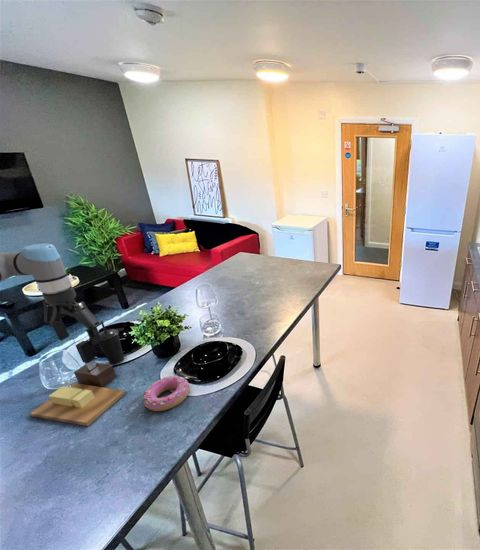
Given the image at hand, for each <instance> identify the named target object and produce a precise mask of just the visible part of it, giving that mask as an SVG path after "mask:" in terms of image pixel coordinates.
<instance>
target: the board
mask: <svg viewBox="0 0 480 550" xmlns="http://www.w3.org/2000/svg"><path fill="white" fill-rule="evenodd" d="M72 383H73V384H72ZM72 383H71V384H72V385H71V387H72V388H78V389H82V390H83V391H84V390H91V391H92V393H93V395H94V397H95V398H94V399H93V400H91V401H90V402H89V403H88V404H86V405H85V406H84V407H83V408H78V407H75V405H74V406H66V405H60V404H54V403H52V401H51V399H50V398H49V399H48V400H46V401H44V402H43V403H41V405H39V406H37V407H36V408H35V409H33V410H32V411H31V412H29V415H30V417H32V418H33V417H34V418H38V419H39V418H40V419H44V420H45V419H46V420H50V421H57V422H62V423H69V424H74V425H81V426H84V427H85V426H87V427H89V425H91V424H93V422H95V420H97V419H98V418H99V417H100V416H101V415H103V414H104V413H105V412H106V411H107V410H108V409H109V408H111V406H113V405H114V404H115V403H116V402H118V401H119V400H120V399H121V398H122V397H123V396H125V395H126V392H125V390H122V389H114V388H110V387H104V386H103V387H97V386H90V385H84V384H79V383H77V382H72Z"/></svg>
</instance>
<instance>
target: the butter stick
mask: <svg viewBox="0 0 480 550" xmlns="http://www.w3.org/2000/svg"><path fill="white" fill-rule="evenodd" d="M82 391H83V390H82V389H78V388H72V387H68V386H64V385H62V386H61V387H59V388H58V389H56V390H55V391H53V392H52V393H50V394H49V395H48V398H49V399H51V401H52V403H54V404H60V405H66V406H74V403H73V401H72V399H73V398H74V397H76V396H77V395H78V394H80V393H81V392H82Z"/></svg>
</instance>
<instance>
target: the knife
mask: <svg viewBox="0 0 480 550" xmlns="http://www.w3.org/2000/svg"><path fill="white" fill-rule="evenodd" d="M74 346H75V348H76V350H77V352H78V355H79V357H80V359H81V361H82V363H83V364H84V365H85V364H86V366H87V369H88V371H89V372H90V371H92V370H93V369H95V368H96V367H98V366H97V364H96V363H97V361H96V360H95V359H96V356H95V354H94V351H93V349H92V347H91V345H90V342H89V341H87V340H82V341H80V342H78V343H76V344H75V345H74Z"/></svg>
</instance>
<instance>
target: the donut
mask: <svg viewBox="0 0 480 550" xmlns="http://www.w3.org/2000/svg"><path fill="white" fill-rule="evenodd" d="M174 389H175V390H174ZM169 390H174V391H173V392H172V393H170V394H168V395H166V396H162V397H160V395H161V394H163V393H164V392H166V391H167V392H168V391H169ZM189 393H190V383H189V381H188V380H187V379H186V378H185V377H183V376H178V375H168V376H165V377H163V378H160V379H158V380H156V381H155V382H153V383H151V384H150V385H149V386H148V387H147V388H146V389H145V390H144V392H143V395H142V396H141V397H142V401H143V404H144V406H145V407H146V408H147V409H148V410H151V411H152V412H162V411H167V410H170V409H173V408H175V407H177V406H178V405H180V404H181V403H182V402H184V400H185V399H187V397H188V395H189Z"/></svg>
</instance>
